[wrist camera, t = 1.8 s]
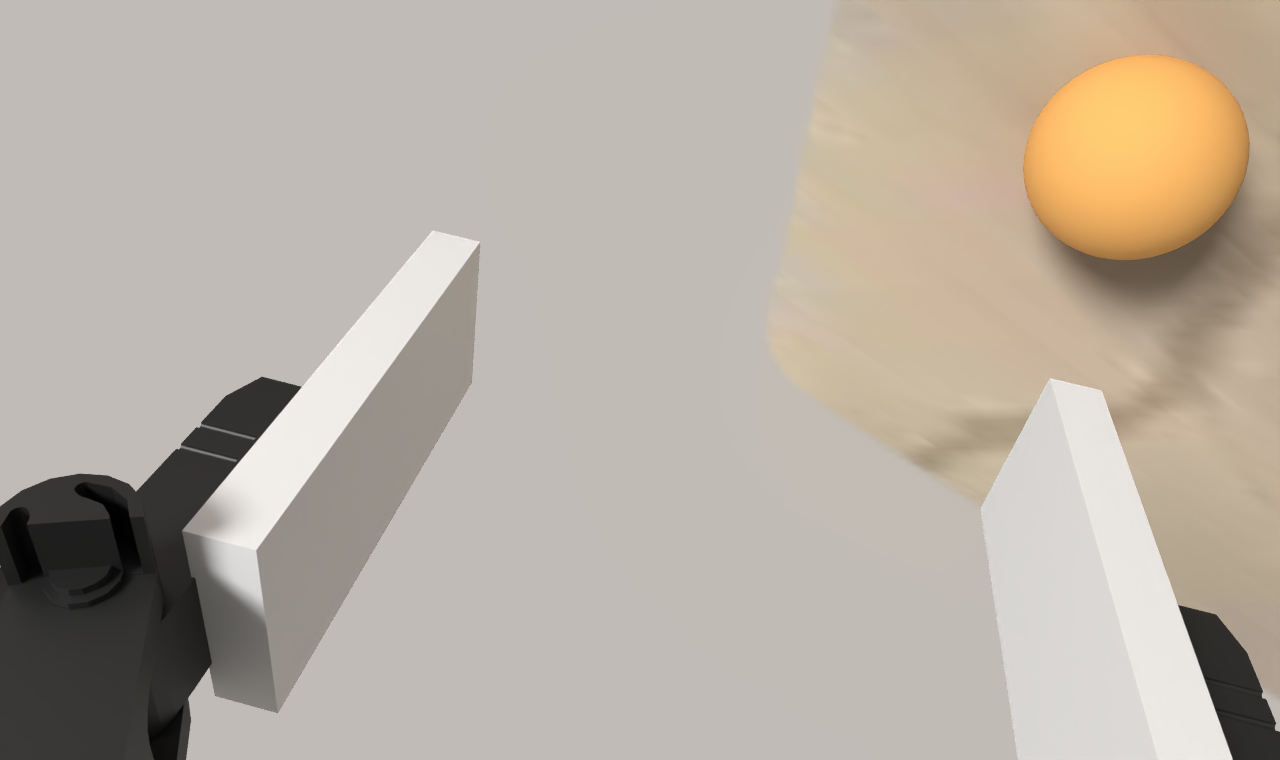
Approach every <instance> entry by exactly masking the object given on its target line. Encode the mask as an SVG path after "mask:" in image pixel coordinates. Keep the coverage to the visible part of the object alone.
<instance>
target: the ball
mask: <svg viewBox="0 0 1280 760" xmlns="http://www.w3.org/2000/svg"><path fill="white" fill-rule="evenodd" d="M1249 144H1250V142H1249V134H1248V128H1247V124H1246V121H1245V117H1244V114H1243V112H1242V110H1241V108H1240V106H1239V104H1238V102H1237V100H1236V99H1235V97H1234V96H1233V95H1232V93H1231V92H1230V91H1229V89H1228V88H1227V87H1226V86H1225V85H1224V84H1223V83H1222V82H1221V81H1220V80H1219V79H1218V78H1216V77H1215V76H1214V75H1212V74H1211V73H1209V72H1208V71H1206V70H1205V69H1203V68H1202V67H1199V66H1197V65H1195V64H1193V63H1191V62H1188V61H1184V60H1181V59H1177V58H1174V57H1168V56H1162V55H1137V56H1128V57H1124V58H1119V59H1115V60H1111V61H1108V62H1105V63H1102V64H1100V65H1097V66H1095V67H1093V68H1091V69H1089V70H1087V71H1085V72H1084V73H1082V74H1080V75H1079V76H1077V77H1075V78H1074V79H1073V80H1071V81H1070V82H1069V83H1067V84H1066V85H1065V86H1064V87H1063V88H1061V89H1060V90H1059V91H1058V92H1057V93H1056V94H1055V95H1054V96H1053V97H1052V99H1051V100H1050V101H1049V102H1048V103H1047V105H1046V106H1045V107H1044V109H1043V110H1042V112H1041V113H1040V115H1039V116H1038V118H1037V120H1036V121H1035V123H1034V125H1033V127H1032V129H1031V132H1030V135H1029V138H1028V141H1027V145H1026V150H1025V155H1024V165H1023V172H1024V182H1025V188H1026V192H1027V196H1028V199H1029V201H1030V203H1031V206H1032V208H1033V210H1034V211H1035V213H1036V215H1037V216H1038V218H1039V220H1040V221H1041V222H1042V223H1043V225H1044V226H1045V227H1046V228H1047V229H1048V230H1049V231H1050V232H1051V233H1052V234H1053V235H1054V236H1056V237H1057V238H1058V239H1059V240H1060V241H1062V242H1063V243H1065V244H1067V245H1068V246H1070V247H1072V248H1074V249H1076V250H1078V251H1081V252H1083V253H1085V254H1088V255H1092V256H1095V257H1099V258H1105V259H1113V260H1138V259H1144V258H1150V257H1154V256H1158V255H1162V254H1165V253H1167V252H1170V251H1173V250H1175V249H1177V248H1180V247H1182V246H1184V245H1186V244H1188V243H1189V242H1191V241H1192V240H1194V239H1196V238H1197V237H1199V236H1200V235H1201V234H1203V233H1204V232H1205V231H1207V230H1208V229H1209V228H1210V227H1211V226H1212V225H1213V224H1215V223H1216V222H1217V221H1218V220H1219V219H1220V217H1221V216H1222V215H1223V214H1224V213H1225V212H1226V210H1227V209H1228V207H1229V206H1230V204H1231V203H1232V202H1233V200H1234V198H1235V197H1236V195H1237V193H1238V191H1239V189H1240V187H1241V185H1242V182H1243V179H1244V177H1245V174H1246V170H1247V165H1248V159H1249Z"/></svg>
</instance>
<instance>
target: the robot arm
mask: <svg viewBox="0 0 1280 760" xmlns="http://www.w3.org/2000/svg"><path fill="white" fill-rule="evenodd" d="M479 254H480V242H478V241H474V240H470V239H466V238H461V237H457V236H453V235H449V234H445V233H441V232H436V231H432V232H431V233H430V235H429V236H428V237H427V238H426V240H425V241H424V242H423V243H422V244H421V245H420V247H419V248H418V249H417V250H416V251H415V252H414V254H413V255H412V256H411V257H410V258H409V260H408V261H407V262H406V263H405V264H404V266H403V267H402V268H401V269H400V270H399V272H398V273H397V274H396V275H395V277H394V278H393V279H392V280H391V281H390V283H389V284H388V285H387V286H386V287H385V288H384V290H383V291H382V292H381V293H380V294H379V296H378V297H377V298H376V299H375V300H374V302H373V303H372V304H371V305H370V307H369V308H368V309H367V310H366V311H365V312H364V314H363V315H362V316H361V317H360V318H359V320H358V321H357V322H356V323H355V324H354V326H353V327H352V328H351V329H350V330H349V331H348V333H347V334H346V335H345V336H344V338H343V339H342V340H341V341H340V343H339V344H338V345H337V346H336V347H335V348H334V349H333V351H332V352H331V353H330V354H329V355H328V357H327V358H326V359H325V360H324V361H323V363H322V364H321V365H320V366H319V367H318V369H317V370H316V371H315V372H314V373H313V375H312V376H311V377H310V378H309V380H308V381H307V382H306V383H305V384H304V385H303V387H300V386H296V385H293V384H288V383H285V382H281V381H276V380H272V379H269V378H265V377H261V378H259V379H257V380H255V381H253V382H251V383H250V384H248V385H246V386H244V387H242V388H240V389H238V390H236V391H234V392H233V393H230V394H229V395H227V396H225V397H224V399H223V400H222V401H221V402H220V403H219V404H218V405H217V406H216V407H215V408H214V409H213V411H211V412H210V414H209V415H208V416H207V417H206V418H205V419H204V420H203V421H202V422H201V426H200V428H195V430H194V431H193V432H192V433H191V434H190V435H189V436H188V437H187V438H186V439H185V440H184V441H183V442H182V443H181V448H180V449H179V450H178V449H176V450H175V451H174V452H173V453H172V454H171V455H170V456H169V457H168V458H167V459H166V460H165V461H164V463H163V464H162V465H161V466H160V467H159V468H158V469H157V470H156V471H155V472H154V473H153V474H152V475H151V477H149V479H148V480H147V481H146V482H145V483H144V484H143V485H142V486H141V487H140V488H139V489H138V490H137V491H135V490H134V489H133V488H132V487H131V486H130V485H129V484H127V483H125V482H122V481H120V480H117V479H115V478H112V477H110V476H105V475H92V474H76V475H70V476H64V477H58V478H52V479H49V480H46V481H44V482H41V483H39V484H36V485H34V486H32V487H29V488H27V489H24V490H22V491H20V492H19V493H18V494H16V495H15V496H14V497H12V498H11V499H10V500H8V501H7V502H6V503H4V504H3V505H2V506H0V566H1V567H0V760H186V755H187V747H188V739H189V731H190V723H191V717H190V709H189V701H188V697H189V696H190V694H191V693H192V691H193V690H194V689H195V687H196V686H197V684H198V683H199V681H200V680H201V678H202V677H203V675H204V674H205V672H206V671H207V669H208V668H210V673H211V678H212V683H213V688H214V693H215V696H218V697H221V698H225V699H228V700H232V701H236V702H240V703H243V704H247V705H250V706H254V707H258V708H261V709H265V710H268V711H273V712H276V713H278V712H279V710H280V708H281V707H282V705H283V704H284V702H285V700H286V698H287V697H288V695H289V693H290V692H291V690H292V688H293V686H294V685H295V683H296V681H297V680H298V678H299V676H300V675H301V673H302V671H303V669H304V668H305V666H306V664H307V663H308V661H309V659H310V657H311V656H312V654H313V652H314V651H315V649H316V647H317V646H318V644H319V642H320V640H321V639H322V637H323V635H324V634H325V632H326V630H327V629H328V627H329V625H330V623H331V622H332V620H333V618H334V617H335V615H336V613H337V611H338V610H339V608H340V606H341V605H342V603H343V601H344V599H345V598H346V596H347V594H348V593H349V591H350V589H351V588H352V586H353V584H354V582H355V581H356V579H357V577H358V576H359V574H360V572H361V571H362V569H363V567H364V565H365V564H366V562H367V560H368V559H369V557H370V555H371V553H372V552H373V550H374V548H375V546H376V545H377V543H378V542H379V540H380V538H381V536H382V534H383V533H384V531H385V529H386V528H387V526H388V524H389V523H390V521H391V519H392V518H393V516H394V514H395V513H396V511H397V509H398V507H399V506H400V504H401V502H402V500H403V499H404V497H405V495H406V494H407V492H408V490H409V489H410V487H411V485H412V484H413V482H414V480H415V478H416V477H417V475H418V473H419V471H420V470H421V468H422V466H423V465H424V463H425V461H426V460H427V458H428V456H429V454H430V453H431V451H432V449H433V448H434V446H435V444H436V443H437V441H438V439H439V437H440V436H441V434H442V432H443V431H444V429H445V427H446V426H447V424H448V422H449V420H450V419H451V417H452V415H453V414H454V412H455V410H456V408H457V407H458V405H459V403H460V402H461V400H462V398H463V397H464V395H465V393H466V391H467V390H468V388H469V386H470V385H471V383H472V369H473V353H474V336H475V320H476V303H477V287H478V271H479ZM980 510H981V517H982V523H983V530H984V537H985V544H986V550H987V557H988V564H989V570H990V577H991V584H992V590H993V597H994V604H995V610H996V617H997V624H998V631H999V637H1000V644H1001V650H1002V657H1003V664H1004V671H1005V677H1006V684H1007V691H1008V697H1009V704H1010V710H1011V718H1012V724H1013V731H1014V737H1015V744H1016V750H1017V757H1018V760H1280V732H1278V731H1275V724H1276V722H1275V720H1274V717H1273V715H1272V712H1271V710H1270V708H1269V705H1268V703H1267V700H1266V699H1263V698H1262V692H1263V690H1262V688H1261V686H1260V683H1259V681H1258V678H1257V676H1256V673H1255V671H1254V669H1253V666H1252V664H1251V661H1250V659H1249V656H1248V654H1247V652H1246V651H1245V650H1244V648H1243V647H1242V646H1241V645H1240V644H1239V642H1238V641H1237V640H1236V639H1235V637H1234V636H1233V635H1232V634H1231V632H1230V631H1229V630H1228V629H1227V628H1226V626H1225V625H1224V624H1223V623H1222V621H1221V620H1220V619H1219V618H1218V616H1217V615H1215V614H1211V613H1207V612H1203V611H1199V610H1195V609H1191V608H1187V607H1183V606H1179V605H1178V604H1177V601H1176V599H1175V596H1174V593H1173V590H1172V587H1171V584H1170V582H1169V579H1168V576H1167V573H1166V570H1165V568H1164V565H1163V562H1162V559H1161V556H1160V554H1159V551H1158V548H1157V545H1156V542H1155V539H1154V537H1153V534H1152V531H1151V528H1150V525H1149V523H1148V520H1147V517H1146V514H1145V511H1144V509H1143V506H1142V503H1141V500H1140V497H1139V494H1138V492H1137V489H1136V486H1135V483H1134V480H1133V478H1132V475H1131V472H1130V469H1129V466H1128V464H1127V461H1126V458H1125V455H1124V452H1123V449H1122V447H1121V444H1120V441H1119V438H1118V435H1117V433H1116V430H1115V427H1114V424H1113V421H1112V419H1111V416H1110V413H1109V410H1108V407H1107V405H1106V402H1105V399H1104V396H1103V393H1102V390H1097V389H1093V388H1089V387H1085V386H1081V385H1076V384H1072V383H1068V382H1064V381H1060V380H1055V379H1051V378H1050V379H1049V381H1048V383H1047V385H1046V386H1045V388H1044V390H1043V392H1042V394H1041V396H1040V398H1039V400H1038V401H1037V403H1036V405H1035V407H1034V409H1033V411H1032V413H1031V415H1030V417H1029V418H1028V420H1027V422H1026V424H1025V426H1024V428H1023V430H1022V432H1021V433H1020V435H1019V437H1018V439H1017V441H1016V443H1015V445H1014V447H1013V449H1012V450H1011V452H1010V454H1009V456H1008V458H1007V460H1006V462H1005V464H1004V465H1003V467H1002V469H1001V471H1000V473H999V475H998V477H997V479H996V481H995V482H994V484H993V486H992V488H991V490H990V492H989V494H988V496H987V497H986V499H985V501H984V503H983V505H982V507H981V509H980Z"/></svg>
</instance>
